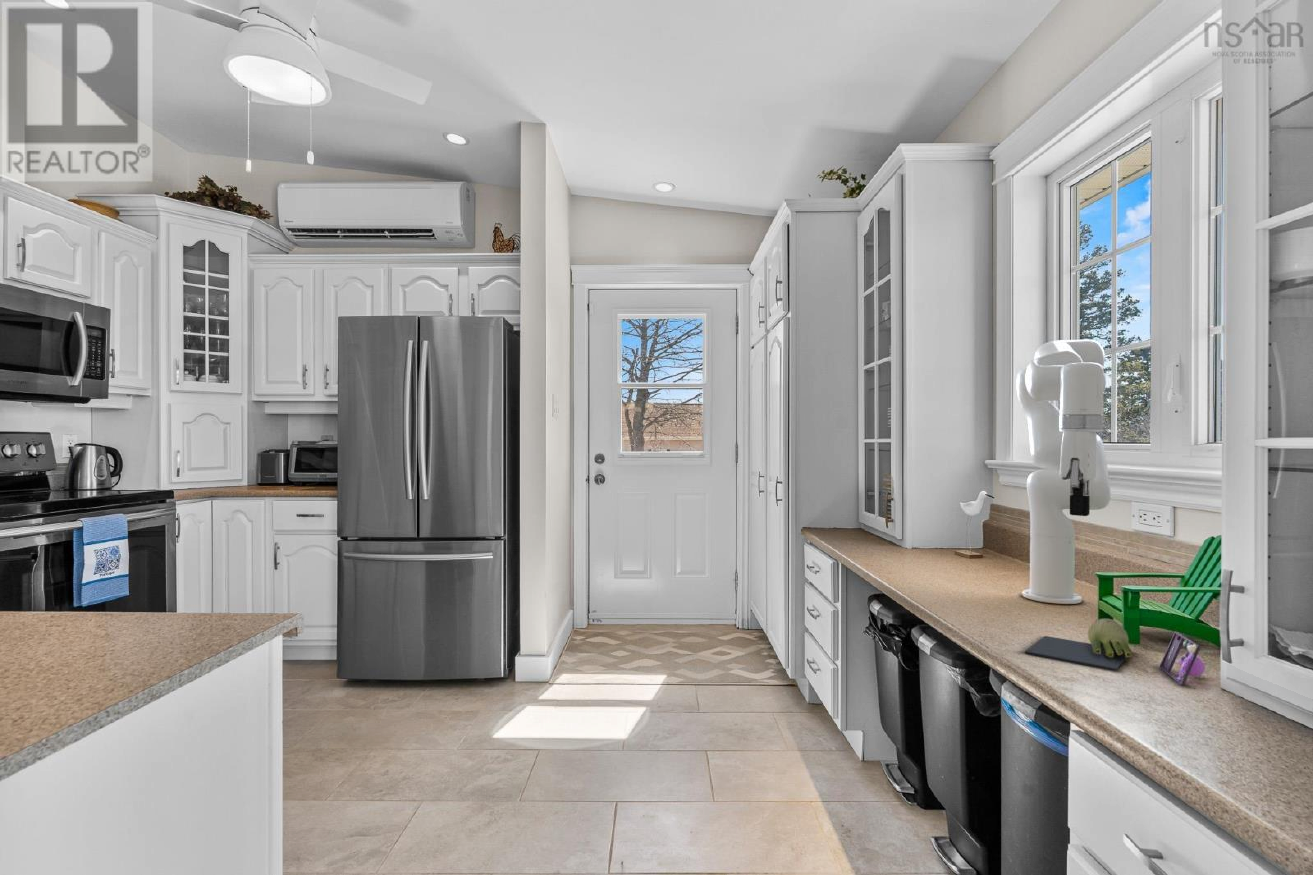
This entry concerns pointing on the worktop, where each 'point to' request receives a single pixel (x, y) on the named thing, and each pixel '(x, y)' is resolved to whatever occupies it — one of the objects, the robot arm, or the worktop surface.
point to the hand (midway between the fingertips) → (1079, 515)
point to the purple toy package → (1183, 658)
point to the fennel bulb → (1109, 638)
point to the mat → (1075, 653)
